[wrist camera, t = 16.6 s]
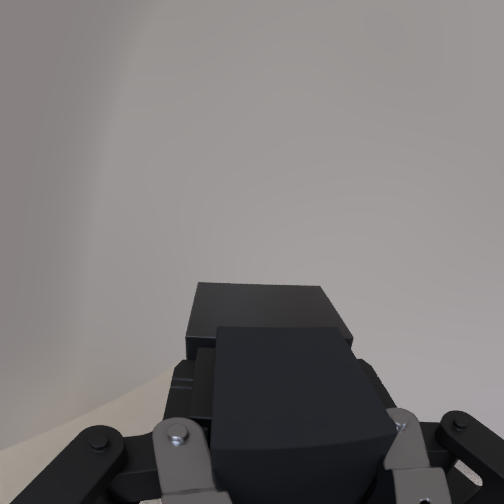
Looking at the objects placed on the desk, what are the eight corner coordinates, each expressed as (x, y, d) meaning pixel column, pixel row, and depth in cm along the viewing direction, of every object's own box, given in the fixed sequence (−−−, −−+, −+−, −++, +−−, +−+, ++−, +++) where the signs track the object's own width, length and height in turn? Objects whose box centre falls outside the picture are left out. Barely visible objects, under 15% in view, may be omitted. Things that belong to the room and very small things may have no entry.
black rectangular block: (218, 565, 8) (209, 448, 5) (217, 479, 13) (216, 325, 10) (317, 558, 8) (399, 432, 6) (299, 476, 13) (337, 326, 10)
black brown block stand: (182, 614, 6) (114, 562, 3) (194, 429, 18) (187, 281, 15) (345, 604, 6) (480, 513, 3) (301, 429, 19) (329, 285, 16)
